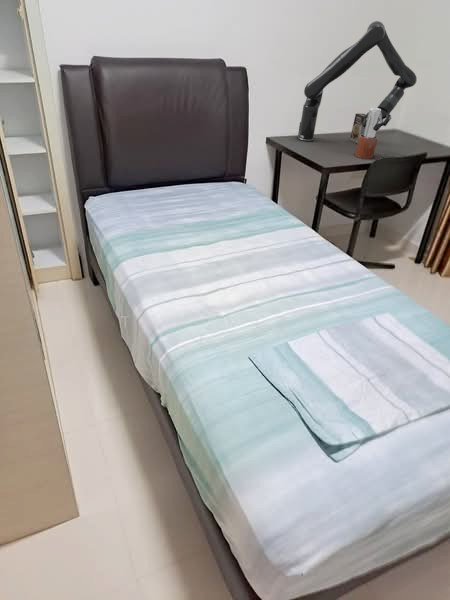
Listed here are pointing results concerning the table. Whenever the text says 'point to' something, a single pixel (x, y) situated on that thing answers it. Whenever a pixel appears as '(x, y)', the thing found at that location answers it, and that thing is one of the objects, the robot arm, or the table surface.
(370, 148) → the cup
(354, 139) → the coffee box
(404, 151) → the table surface
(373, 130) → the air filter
